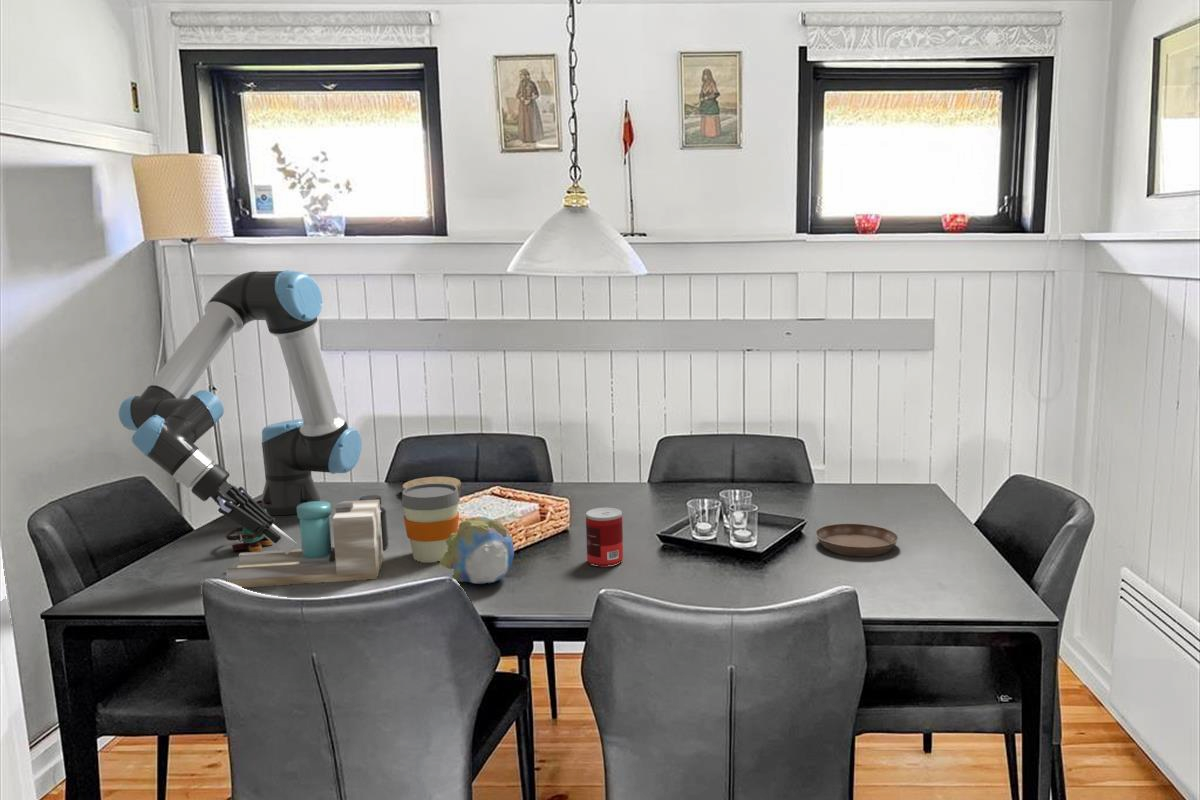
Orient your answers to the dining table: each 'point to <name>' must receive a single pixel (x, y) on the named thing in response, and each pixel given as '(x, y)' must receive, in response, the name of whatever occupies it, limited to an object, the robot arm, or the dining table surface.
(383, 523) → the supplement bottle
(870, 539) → the plant saucer
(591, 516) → the canned food
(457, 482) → the tan shallow dish
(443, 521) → the reusable coffee cup
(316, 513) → the knob slider
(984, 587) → the dining table surface
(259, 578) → the knob mount
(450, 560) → the decorative rock
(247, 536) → the binoculars
